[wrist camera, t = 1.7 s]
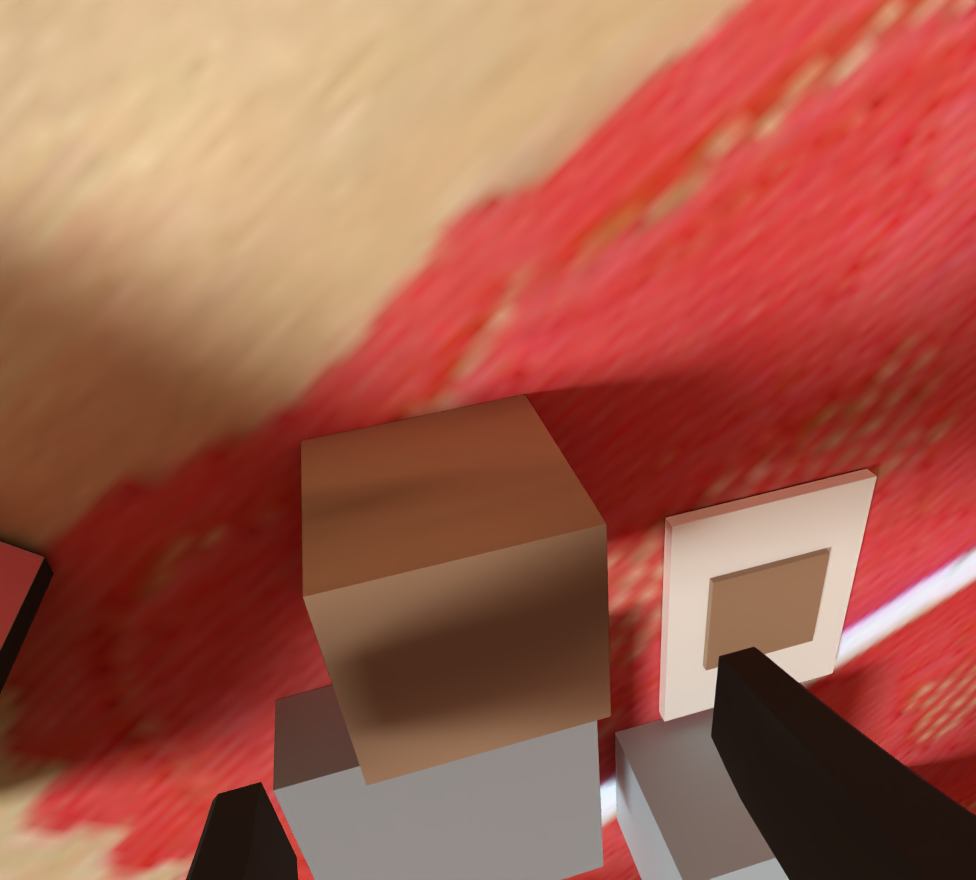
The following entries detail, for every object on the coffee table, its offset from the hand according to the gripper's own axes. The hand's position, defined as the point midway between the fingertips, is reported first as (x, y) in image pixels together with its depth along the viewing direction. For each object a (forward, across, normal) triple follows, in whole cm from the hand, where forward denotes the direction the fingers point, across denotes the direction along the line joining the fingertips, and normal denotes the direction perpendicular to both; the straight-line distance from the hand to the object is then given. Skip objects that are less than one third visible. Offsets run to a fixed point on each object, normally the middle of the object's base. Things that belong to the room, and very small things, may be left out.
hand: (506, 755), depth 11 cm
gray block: (+7, -7, +13) cm, 16 cm away
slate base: (+7, +1, +9) cm, 12 cm away
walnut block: (+7, 0, 0) cm, 7 cm away
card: (+7, -9, +6) cm, 13 cm away
